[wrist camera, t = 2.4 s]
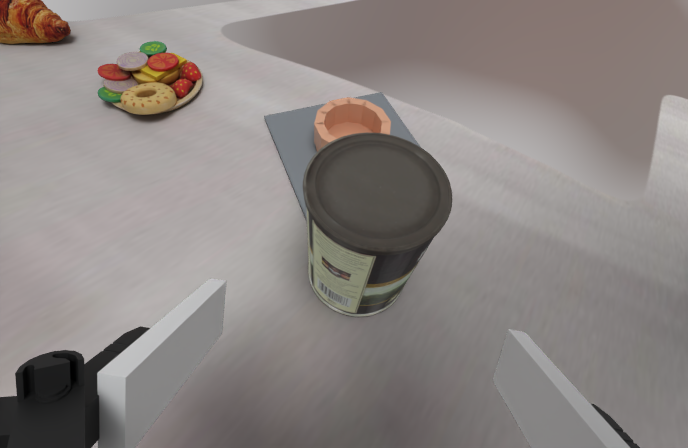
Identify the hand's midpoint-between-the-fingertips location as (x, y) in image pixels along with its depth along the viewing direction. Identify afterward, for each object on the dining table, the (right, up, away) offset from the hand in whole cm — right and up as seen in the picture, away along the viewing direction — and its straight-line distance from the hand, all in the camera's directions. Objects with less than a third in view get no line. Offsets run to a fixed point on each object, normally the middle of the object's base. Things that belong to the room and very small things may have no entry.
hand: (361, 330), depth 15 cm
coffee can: (+1, 0, +19) cm, 19 cm away
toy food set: (-28, +24, +32) cm, 49 cm away
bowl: (0, +15, +28) cm, 32 cm away
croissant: (-53, +36, +37) cm, 74 cm away
